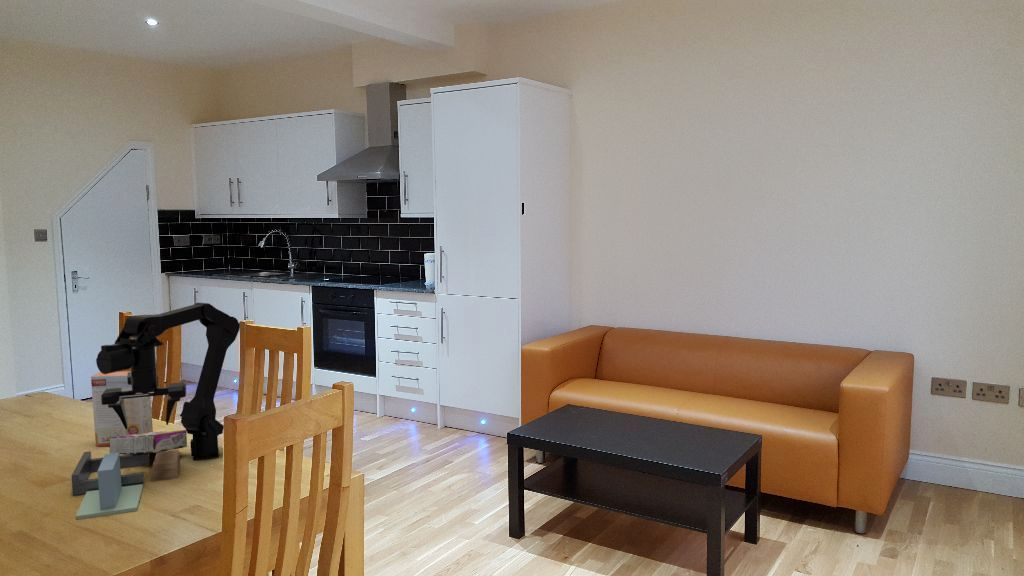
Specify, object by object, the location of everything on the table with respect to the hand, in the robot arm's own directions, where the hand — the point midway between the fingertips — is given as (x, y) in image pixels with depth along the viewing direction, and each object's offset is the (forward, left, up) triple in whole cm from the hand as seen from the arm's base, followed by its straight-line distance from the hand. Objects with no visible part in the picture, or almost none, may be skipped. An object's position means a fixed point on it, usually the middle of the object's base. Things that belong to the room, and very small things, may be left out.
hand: (147, 426), depth 182 cm
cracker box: (+9, -32, -13) cm, 36 cm away
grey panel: (+7, +15, -12) cm, 20 cm away
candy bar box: (+7, -21, -10) cm, 24 cm away
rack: (+9, -2, -13) cm, 16 cm away
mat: (+7, +15, -13) cm, 21 cm away
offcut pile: (-4, -2, -13) cm, 14 cm away
